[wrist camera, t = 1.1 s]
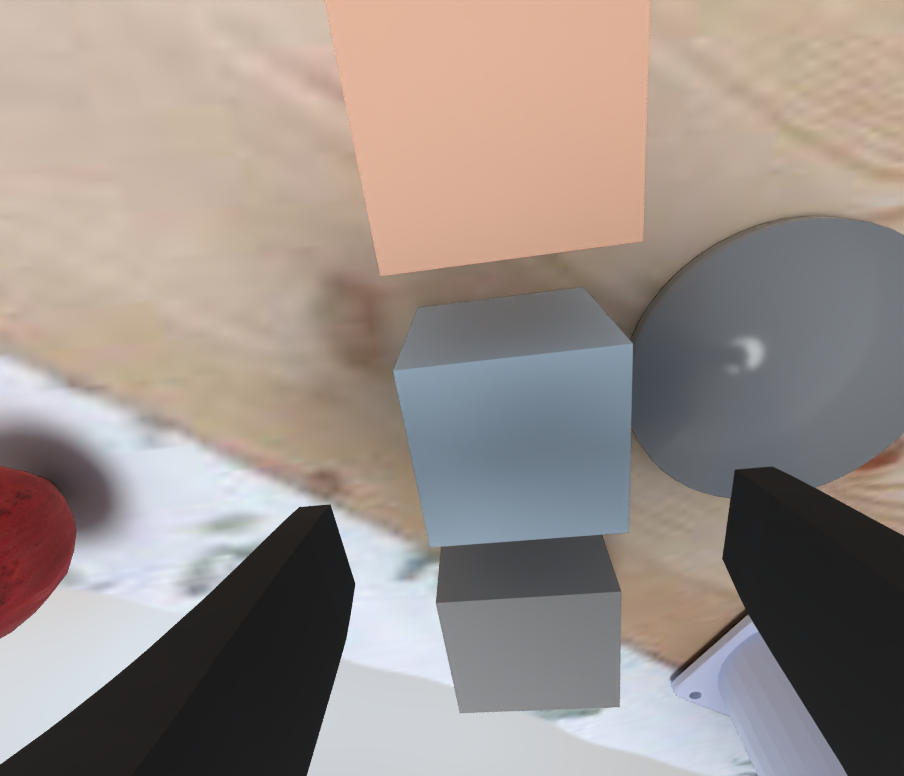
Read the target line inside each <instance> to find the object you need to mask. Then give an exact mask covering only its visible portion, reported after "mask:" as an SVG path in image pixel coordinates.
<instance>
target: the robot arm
mask: <svg viewBox="0 0 904 776" xmlns="http://www.w3.org/2000/svg"><path fill="white" fill-rule="evenodd" d="M722 559H723V561H724V563H725V565H726V568H727V570H728V572H729V574H730V577H731V579H732V581H733V583H734V586H735V588H736V590H737V592H738V594H739V596H740V598H741V600H742V602H743V604H744V606H745V609H746V611H747V613H748V615H747V616H746V617H745V618H743V619H742V620H741V621H740V622H739V623H738V624H737V625H735V626H734V627H733V628H732V629H731V630H730V631H729V632H728V633H726V634H725V635H724V636H723V637H722V638H721V639H720V640H719V641H717V642H716V643H715V644H714V645H713V646H712V647H711V648H709V649H708V650H707V651H706V652H705V653H704V654H703V655H702V656H700V657H699V658H698V659H697V660H696V661H695V662H694V663H693V664H691V665H690V666H689V667H688V668H687V669H686V670H685V671H683V672H682V673H681V674H680V675H679V676H678V677H677V678H676V679H674V681H673V682H672V685H671V686H672V689H673V691H674V694H675V695H676V696H678V697H680V698H682V699H685V700H688V701H690V702H693V703H695V704H698V705H701V706H703V707H706V708H709V709H711V710H714V711H716V712H719V713H722V714H724V715H727V716H729V717H731V718H732V721H733V723H734V725H735V727H736V729H737V731H738V734H739V736H740V738H741V740H742V742H743V744H744V747H745V749H746V751H747V753H748V755H749V757H750V760H751V762H752V764H753V766H754V768H755V770H756V773H757V775H758V776H904V536H903V535H901V534H899V533H897V532H896V531H894V530H892V529H890V528H888V527H886V526H884V525H883V524H881V523H879V522H877V521H875V520H873V519H871V518H870V517H868V516H866V515H864V514H862V513H860V512H858V511H857V510H855V509H853V508H851V507H849V506H847V505H846V504H844V503H842V502H840V501H838V500H836V499H835V498H833V497H831V496H829V495H827V494H825V493H823V492H822V491H820V490H818V489H816V488H814V487H812V486H810V485H809V484H807V483H805V482H803V481H801V480H799V479H797V478H795V477H793V476H791V475H789V474H787V473H785V472H783V471H781V470H779V469H777V468H775V467H773V466H770V467H758V468H747V469H735V471H734V478H733V485H732V493H731V500H730V507H729V514H728V522H727V529H726V536H725V544H724V551H723V558H722ZM354 589H355V582H354V578H353V575H352V572H351V569H350V566H349V562H348V559H347V556H346V553H345V550H344V546H343V543H342V540H341V537H340V534H339V530H338V527H337V524H336V521H335V518H334V514H333V511H332V508H331V505H319V506H308V507H299V508H298V509H297V510H296V511H295V512H293V513H292V514H291V515H290V516H289V517H288V518H287V519H286V520H285V521H284V522H283V523H282V524H281V525H280V526H279V527H277V528H276V529H275V530H274V531H273V532H272V533H271V534H270V535H269V536H268V537H267V538H266V539H265V540H264V541H263V542H262V543H261V544H260V545H259V546H258V547H257V548H256V549H255V550H254V551H253V552H252V553H251V554H250V555H249V556H248V557H247V558H246V559H245V560H244V561H243V562H242V563H241V564H240V565H239V566H238V567H237V568H236V569H235V570H233V571H232V572H231V573H230V574H229V575H228V576H227V577H226V578H225V579H224V580H223V581H222V582H221V583H220V584H219V585H218V586H217V587H216V588H215V589H214V590H213V591H212V592H211V593H210V594H209V595H207V596H206V597H205V598H204V599H203V600H202V601H201V602H200V603H199V604H198V605H197V606H195V607H194V608H193V609H192V610H191V611H190V612H189V613H188V614H187V615H185V616H184V617H183V618H182V619H181V620H180V621H179V622H178V623H177V624H175V625H174V626H173V627H172V628H171V629H170V630H169V631H168V632H167V633H165V635H163V636H162V637H161V638H160V639H159V640H158V641H157V642H155V643H154V644H153V645H152V646H151V647H150V648H149V649H148V650H147V651H145V652H144V653H143V654H142V655H141V656H140V657H138V658H137V659H136V660H135V661H134V662H132V663H131V664H130V665H129V666H128V667H126V668H125V669H124V670H123V671H122V672H120V673H119V674H118V675H117V676H116V677H114V678H113V679H112V680H111V681H110V682H108V683H107V684H106V685H105V686H104V687H102V688H101V689H100V690H98V691H97V692H96V693H95V694H93V695H92V696H91V697H90V698H88V699H87V700H86V701H84V702H83V703H82V704H81V705H80V706H78V707H77V708H76V709H74V710H73V711H72V712H71V713H69V714H68V715H67V716H66V717H64V718H63V719H62V720H60V721H59V722H58V723H56V724H55V725H54V726H53V727H51V728H50V729H49V730H47V731H46V732H44V733H43V734H42V735H40V736H39V737H38V738H36V739H35V740H33V741H32V742H31V743H29V744H28V745H27V746H25V747H24V748H23V749H21V750H20V751H18V752H17V753H16V754H14V755H13V756H11V757H10V758H9V759H7V760H6V761H5V762H3V763H2V764H0V776H307V773H308V769H309V766H310V762H311V759H312V756H313V752H314V748H315V745H316V742H317V739H318V735H319V732H320V728H321V725H322V722H323V718H324V715H325V711H326V708H327V704H328V701H329V698H330V694H331V691H332V687H333V684H334V680H335V677H336V673H337V670H338V666H339V663H340V659H341V656H342V652H343V649H344V645H345V641H346V637H347V632H348V626H349V620H350V615H351V609H352V602H353V596H354Z"/></svg>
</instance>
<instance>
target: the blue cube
mask: <svg viewBox="0 0 904 776" xmlns="http://www.w3.org/2000/svg"><path fill="white" fill-rule="evenodd" d="M632 365H633V343H632V342H631V341H630V340H629V338H628V337H627V336H626V335H625V334H624V333H623V332H622V331H621V329H620V328H619V327H618V326H617V325H616V324H615V323H614V321H613V320H612V319H611V318H610V317H609V316H608V315H607V313H606V312H605V311H604V310H603V309H602V308H601V307H600V305H599V304H598V303H597V302H596V301H595V300H594V299H593V297H592V296H591V295H590V294H589V293H588V292H587V291H586V289H585V288H584V287H578V288H570V289H562V290H554V291H546V292H538V293H530V294H522V295H514V296H506V297H499V298H491V299H483V300H475V301H467V302H459V303H451V304H443V305H435V306H427V307H419V308H418V309H417V312H416V314H415V317H414V319H413V322H412V324H411V327H410V329H409V332H408V334H407V337H406V339H405V342H404V344H403V347H402V349H401V352H400V354H399V357H398V359H397V362H396V365H395V367H394V370H393V373H394V378H395V383H396V387H397V392H398V397H399V402H400V406H401V411H402V416H403V421H404V426H405V430H406V435H407V440H408V445H409V449H410V454H411V459H412V464H413V469H414V473H415V478H416V483H417V488H418V492H419V497H420V502H421V507H422V511H423V516H424V521H425V526H426V531H427V535H428V540H429V545H430V547H442V546H456V545H469V544H483V543H496V542H509V541H523V540H536V539H550V538H563V537H576V536H590V535H603V534H616V533H629V497H630V453H631V409H632Z"/></svg>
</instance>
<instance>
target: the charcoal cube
mask: <svg viewBox="0 0 904 776" xmlns="http://www.w3.org/2000/svg"><path fill="white" fill-rule="evenodd" d="M436 606H437V610H438V615H439V619H440V624H441V629H442V633H443V638H444V642H445V647H446V652H447V656H448V661H449V665H450V670H451V675H452V679H453V684H454V688H455V693H456V698H457V702H458V706H459V711H460V713H474V712H500V711H529V710H555V709H582V708H609V707H620V644H621V589H620V586H619V583H618V580H617V578H616V575H615V572H614V569H613V566H612V563H611V560H610V557H609V554H608V551H607V548H606V545H605V542H604V539H603V536H602V535H590V536H576V537H563V538H550V539H536V540H523V541H509V542H496V543H483V544H469V545H456V546H442V547H441V553H440V564H439V575H438V586H437V597H436Z"/></svg>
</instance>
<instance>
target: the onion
mask: <svg viewBox="0 0 904 776" xmlns="http://www.w3.org/2000/svg"><path fill="white" fill-rule="evenodd" d="M75 539H76V526H75V521H74V516H73V514H72V512H71V510H70V508H69V506H68V504H67V502H66V500H65V498H64V496H63V495H62V494H61V493H60V491H59V490H58V489H57V487H56V486H55V484H53V483H52V482H51V481H50V480H48V479H46V478H44V477H42V476H36V475H34V474H31V473H28V472H25V471H20V470H16V469H12V468H7V467H2V466H0V638H2V637H4V636H6V635H7V634H9V633H11V632H12V631H14V630H15V629H16V628H17V627H18V626H19V625H21V624H22V623H23V622H24V621H25V620H27V619H28V618H29V617H30V616H31V615H33V614H34V613H35V612H36V611H37V610H38V609H39V608H40V606H41V605H42V604H43V603H44V602H45V601H46V600H47V599H48V597H49V596H50V595H51V594H52V592H53V591H54V590H55V588H56V587H57V586H58V585H59V583H60V582H61V581H62V579H63V578H64V577H65V575H66V574H67V572H68V569H69V566H70V562H71V559H72V556H73V553H74V547H75Z"/></svg>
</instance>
